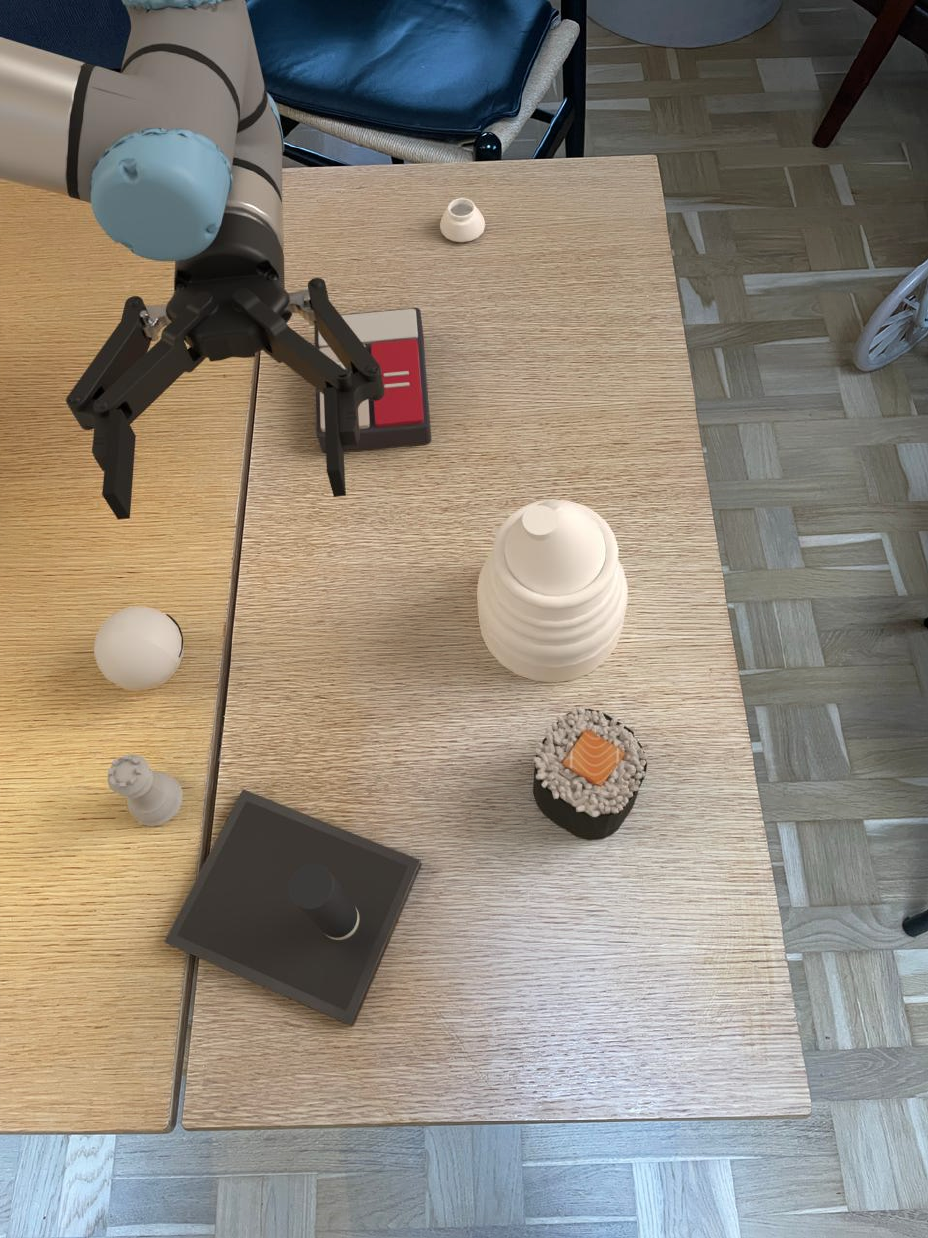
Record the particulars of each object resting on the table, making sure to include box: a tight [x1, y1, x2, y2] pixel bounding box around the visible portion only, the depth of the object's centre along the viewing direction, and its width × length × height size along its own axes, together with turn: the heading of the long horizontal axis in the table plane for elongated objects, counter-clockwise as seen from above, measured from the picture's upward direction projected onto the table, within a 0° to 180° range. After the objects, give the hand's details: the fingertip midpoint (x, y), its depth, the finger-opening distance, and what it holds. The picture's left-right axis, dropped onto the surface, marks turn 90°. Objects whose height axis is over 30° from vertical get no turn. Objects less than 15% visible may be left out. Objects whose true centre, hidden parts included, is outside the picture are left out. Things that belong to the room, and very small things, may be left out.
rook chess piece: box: [106, 754, 184, 827], centre depth 78 cm, size 4×4×8 cm
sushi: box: [532, 706, 649, 841], centre depth 77 cm, size 8×8×8 cm
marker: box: [289, 863, 359, 940], centre depth 70 cm, size 3×3×12 cm
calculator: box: [313, 307, 432, 454], centre depth 99 cm, size 11×4×15 cm
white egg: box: [93, 590, 184, 692], centre depth 85 cm, size 10×7×7 cm
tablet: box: [163, 789, 423, 1027], centre depth 77 cm, size 16×13×1 cm
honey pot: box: [476, 498, 629, 683], centre depth 80 cm, size 13×13×18 cm
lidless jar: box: [439, 197, 486, 243], centre depth 110 cm, size 5×3×5 cm
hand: (226, 495), depth 60 cm, fingers open, 13 cm apart
